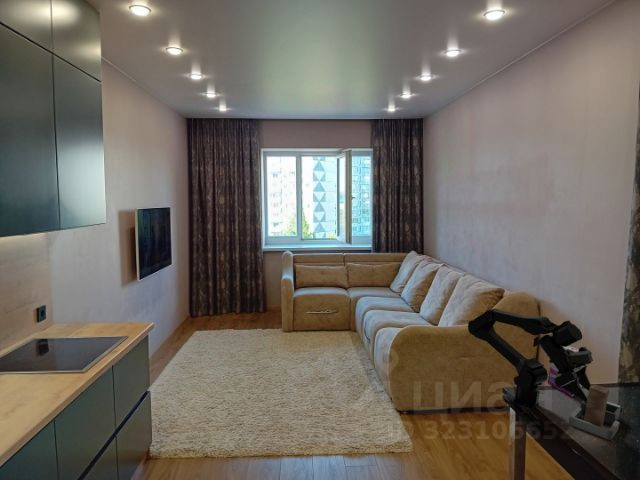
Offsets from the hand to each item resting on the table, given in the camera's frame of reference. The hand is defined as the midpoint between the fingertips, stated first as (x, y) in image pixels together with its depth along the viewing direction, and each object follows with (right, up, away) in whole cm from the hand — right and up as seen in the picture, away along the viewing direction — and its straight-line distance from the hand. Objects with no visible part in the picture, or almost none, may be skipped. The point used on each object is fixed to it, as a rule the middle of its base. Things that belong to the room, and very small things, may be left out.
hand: (588, 395), depth 148 cm
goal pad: (+13, -9, +14) cm, 21 cm away
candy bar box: (+6, -7, +26) cm, 28 cm away
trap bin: (+8, -9, +7) cm, 14 cm away
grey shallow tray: (+1, -10, 0) cm, 10 cm away
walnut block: (+1, -10, 0) cm, 10 cm away
